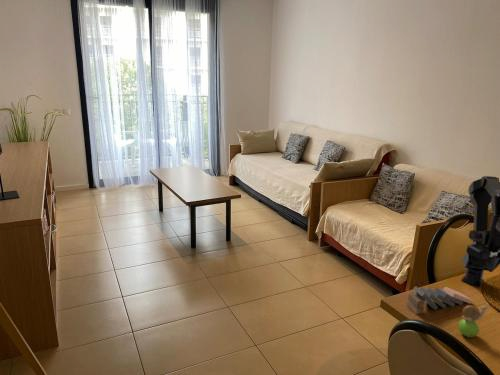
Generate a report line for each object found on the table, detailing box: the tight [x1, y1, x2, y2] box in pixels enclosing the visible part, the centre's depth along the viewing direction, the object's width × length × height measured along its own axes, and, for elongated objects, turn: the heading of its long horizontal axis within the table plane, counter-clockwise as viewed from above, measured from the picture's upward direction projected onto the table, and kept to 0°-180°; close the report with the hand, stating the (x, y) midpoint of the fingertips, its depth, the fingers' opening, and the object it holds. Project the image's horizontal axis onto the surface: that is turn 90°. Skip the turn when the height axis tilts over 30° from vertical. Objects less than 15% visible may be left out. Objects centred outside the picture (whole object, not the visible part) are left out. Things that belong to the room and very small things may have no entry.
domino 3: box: [426, 287, 456, 308], centre depth 130 cm, size 1×4×10 cm
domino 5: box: [442, 286, 473, 304], centre depth 132 cm, size 1×4×10 cm
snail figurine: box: [457, 301, 489, 338], centre depth 114 cm, size 5×6×12 cm
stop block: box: [406, 292, 426, 315], centre depth 127 cm, size 3×4×5 cm
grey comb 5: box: [412, 286, 439, 311], centre depth 128 cm, size 1×4×10 cm
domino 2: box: [419, 286, 447, 309], centre depth 129 cm, size 1×4×10 cm
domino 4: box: [434, 287, 464, 306], centre depth 131 cm, size 1×4×10 cm
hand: (489, 271), depth 130 cm, fingers closed
